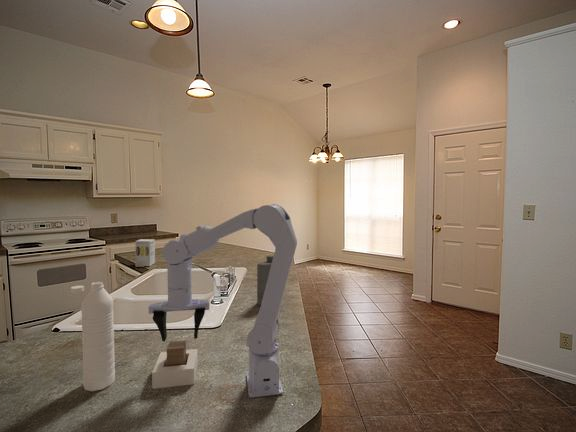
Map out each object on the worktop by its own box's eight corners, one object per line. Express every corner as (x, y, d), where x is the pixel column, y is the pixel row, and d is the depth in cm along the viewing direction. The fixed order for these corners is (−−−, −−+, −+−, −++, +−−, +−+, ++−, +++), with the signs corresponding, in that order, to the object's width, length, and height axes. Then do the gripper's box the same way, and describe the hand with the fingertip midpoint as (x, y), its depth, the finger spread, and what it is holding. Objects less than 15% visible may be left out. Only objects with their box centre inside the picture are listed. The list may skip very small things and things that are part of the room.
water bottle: (105, 372, 77) (103, 277, 75) (120, 380, 73) (118, 281, 72) (67, 391, 69) (63, 286, 68) (81, 401, 66) (78, 290, 64)
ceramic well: (194, 384, 72) (194, 368, 72) (152, 388, 70) (152, 372, 70) (197, 362, 82) (197, 348, 81) (160, 366, 80) (160, 352, 79)
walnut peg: (183, 378, 75) (183, 347, 74) (167, 380, 74) (166, 349, 73) (186, 369, 79) (185, 340, 78) (170, 371, 78) (169, 341, 77)
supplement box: (134, 267, 190) (134, 240, 189) (140, 263, 199) (140, 238, 198) (150, 266, 191) (150, 241, 190) (155, 263, 200) (155, 239, 199)
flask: (266, 306, 124) (267, 259, 123) (254, 304, 127) (255, 258, 126) (283, 296, 138) (283, 253, 136) (272, 294, 140) (272, 252, 139)
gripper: (209, 280, 81) (210, 329, 82) (152, 283, 78) (153, 333, 79) (208, 288, 74) (208, 341, 75) (146, 291, 71) (146, 346, 72)
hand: (180, 338), depth 76 cm, fingers open, 7 cm apart
